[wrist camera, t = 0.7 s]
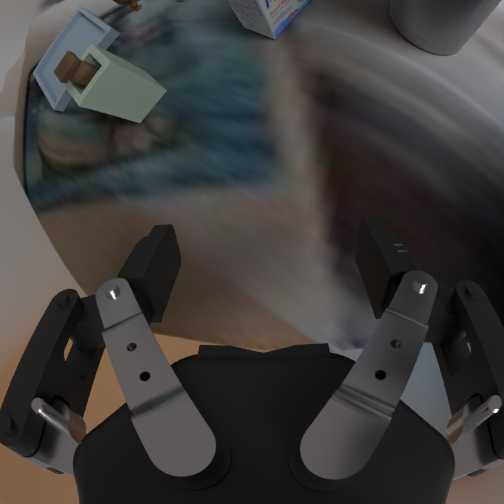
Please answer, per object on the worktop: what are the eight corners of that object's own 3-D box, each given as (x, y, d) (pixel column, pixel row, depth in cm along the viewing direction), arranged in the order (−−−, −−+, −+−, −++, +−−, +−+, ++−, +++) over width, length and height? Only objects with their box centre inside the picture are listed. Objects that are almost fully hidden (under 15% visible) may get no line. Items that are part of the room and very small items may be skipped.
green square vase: (141, 68, 28) (88, 40, 18) (167, 90, 28) (111, 61, 18) (117, 98, 29) (60, 79, 20) (140, 123, 29) (79, 106, 20)
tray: (87, 10, 28) (80, 6, 26) (120, 33, 28) (111, 28, 26) (41, 75, 33) (32, 73, 31) (63, 111, 32) (53, 109, 30)
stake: (144, 84, 28) (67, 50, 16) (154, 93, 28) (75, 59, 16) (131, 99, 29) (53, 71, 17) (141, 109, 29) (60, 82, 17)
